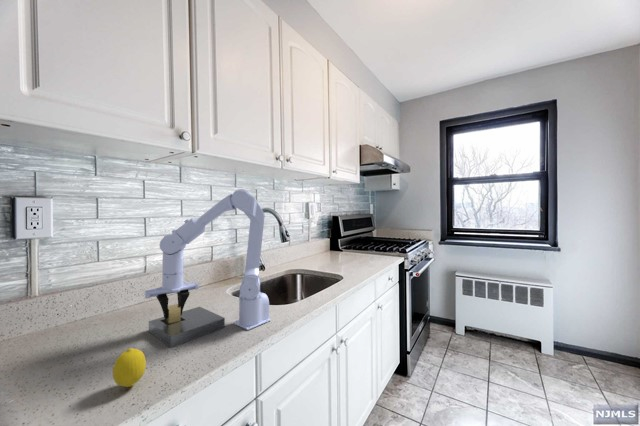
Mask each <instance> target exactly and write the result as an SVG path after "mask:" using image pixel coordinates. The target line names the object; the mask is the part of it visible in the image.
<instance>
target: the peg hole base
mask: <svg viewBox="0 0 640 426" xmlns="http://www.w3.org/2000/svg"><path fill="white" fill-rule="evenodd" d="M225 319H226V318H225V317H224V316H221V315H219V314H217V313H214V312H212V311H210V310H208V309H206V308H204V307H201V306H197V307H193V308H190V309H186V310H184V311H182V315H181V322H178V323H174V324H171V325H166V319H165V318H164V316H163V317H160V318H156V319H151V320H149V321H148V332H149V333H150V334H152V335H153V336H154V337H156V338H157V339H159V340H160V341H161V342H162V343H164V344H165V345H166V346H168V347H169V348H174V347H177V346H179V345H182V344H184V343H186V342H187V343H188V342H189V341H192V340H195V339H197V338H199V337H200V338H201V337H203V336H205V335H208V334H210V333H213V332H216V331H219V330H221V329H224V328H225V327H226V326H225V321H226V320H225Z"/></svg>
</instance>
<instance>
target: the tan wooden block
mask: <svg viewBox="0 0 640 426" xmlns="http://www.w3.org/2000/svg"><path fill="white" fill-rule="evenodd" d="M178 322H181V307H180V306H179V305H178V303H176V304H175V303H174V304H171V305H168V319H166V325H171V324H174V323H178Z"/></svg>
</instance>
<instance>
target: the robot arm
mask: <svg viewBox="0 0 640 426" xmlns="http://www.w3.org/2000/svg"><path fill="white" fill-rule="evenodd" d="M234 210H235V211H236V210H240V211H241V212H243V213H244V215H245V216H246V217H247V218H248V219H249V220H250V223H249V229H248V230H249V231H248V232H249V233H248V240H247V247H246V249H247V250H246V258H245V267H244V274H243V278H242V280H241V283H240V285H239V296H238V297H239V298H238V302H239V303H238V320H236V321H233V324H234V325H236V326H238V327H240V328H241V329H244V330H247V331H249V330H252V329H254V328H257V327H259V326H261V325H264V324H265V323H268V322H270V321H271V320H272V319H271V318H270V300H269V299H270V298H269V297H268V295H267V294H266V292H265V293H264V292H262V291H261V277H260V273H259V272H260V264H261V263H260V262H261V256H262V255H261V254H262V246H263V235H264V227H265V225H264V224H265V217H266V216H265V212H264V211H263V209H262V207H261V205H260V204H259V202H258V200H257V199H256V197H255V196H254V195H253V194H252V193H251V192H250V191H249V190H246V189H245V188H241V189H240V188H239V189H237V190H235V191H234V192H233V193H230V194H228V195H227V196H225V197H224V198H222V199H221V200H219V201H218V202H217V203H216V204H214V205H213V206H212V207H211V208H210V209H208V210H206V212H204V213H203V214H202V215H201V216H200V217H198V218H196V217H192V218H186V219H185V220H184V223H183V224H182V225H181V226H179V227H178V228H177V229H176V228H175V229H172V230H171V233H172V234H166V235H164V236H163V237H162V239H160V241H159V249H160V250H161V252H162V260H161V261H162V265H161V266H162V276H161V277H162V279H161V280H162V281H161V282H162V285H161V286H160V287H157V288H153V289H148V290H147V289H146V290H144V298H145V299H146V300H147V299H150V298H153V297H156V299H157V300H158V302H159V304H160V307H161V310H162V313H163V317H164V318H165V319H168V306H169V297H168V295H171V294H176V293H177V304H178V305H179V306H180V307H181V315H182V312H183V310H184V308H185V304H186V302H187V300H188V298H189V297H190V291H193V290H199V288H200V287H199V285H200V284H199V283H198V282H197V281H195V282H188V283H187V282H186V283H184V249H185V248H186V246H187V245H189V244H190V243H192V242H193V241H194V240H195V239H197V238H198V237H199V236H200V235H202V234H203V233H205V231H206V226H208V225H209V224H210V223H212V222H213V221H215V219H217V218H218V217H220V216H221V215H223V214H224V213H225V212H230V211H234Z"/></svg>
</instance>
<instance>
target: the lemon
mask: <svg viewBox="0 0 640 426" xmlns="http://www.w3.org/2000/svg"><path fill="white" fill-rule="evenodd" d="M146 365H147V362H146V356H145V354H144V352H143V351H142V350H140V349H138V348H132V347H131V348H130V347H129V348H127V350H125V351H123V352H122V353H121V354H120V355H119V356H118V357H117V358H116V359H115V363H114V364H113V369H112V377H113V380H114V382H115V384H116V385H118V386H120V387H126V388H131V387H133V385H134V384H136V383H137V382H139V381H140V379H141V378H142V377H143V375H144V374H145V371H146Z"/></svg>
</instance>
